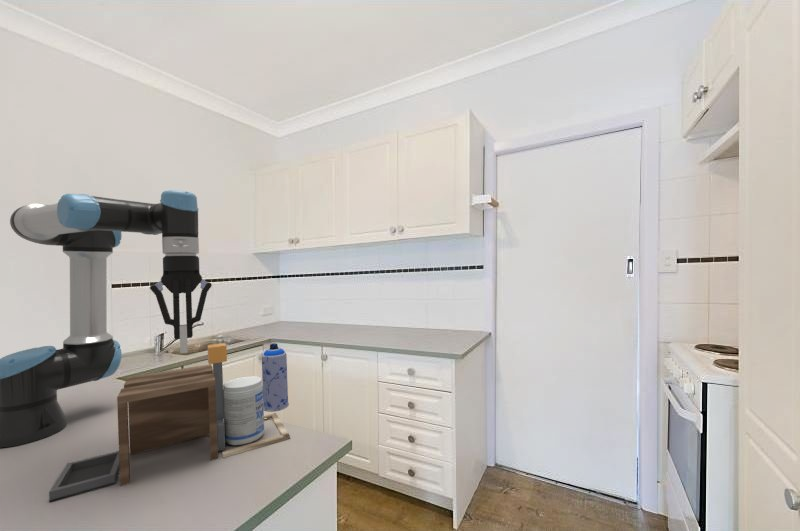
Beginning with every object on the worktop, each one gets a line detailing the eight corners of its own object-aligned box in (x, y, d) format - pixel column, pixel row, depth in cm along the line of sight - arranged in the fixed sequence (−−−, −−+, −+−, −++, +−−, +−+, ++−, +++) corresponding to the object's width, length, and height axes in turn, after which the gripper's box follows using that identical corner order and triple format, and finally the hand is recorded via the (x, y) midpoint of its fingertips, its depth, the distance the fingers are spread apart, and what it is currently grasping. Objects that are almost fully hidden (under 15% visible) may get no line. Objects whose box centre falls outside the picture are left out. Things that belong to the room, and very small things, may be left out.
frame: (217, 429, 96) (217, 426, 96) (275, 415, 104) (275, 412, 104) (222, 457, 81) (222, 454, 81) (290, 438, 89) (289, 435, 89)
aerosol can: (268, 402, 115) (266, 341, 115) (292, 401, 115) (290, 341, 115) (258, 412, 107) (256, 347, 107) (283, 411, 107) (281, 346, 107)
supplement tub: (266, 440, 89) (264, 383, 89) (225, 451, 84) (223, 390, 84) (261, 425, 97) (259, 373, 97) (223, 434, 93) (221, 379, 93)
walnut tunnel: (130, 452, 86) (128, 377, 85) (213, 431, 95) (211, 364, 95) (120, 486, 72) (117, 396, 72) (217, 458, 81) (215, 379, 81)
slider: (209, 433, 93) (206, 342, 93) (226, 429, 95) (223, 340, 95) (212, 452, 83) (208, 350, 83) (231, 447, 85) (227, 347, 85)
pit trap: (67, 472, 78) (67, 463, 78) (124, 457, 83) (123, 449, 83) (49, 502, 67) (49, 492, 67) (115, 484, 73) (115, 474, 73)
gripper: (146, 255, 78) (149, 359, 78) (212, 254, 85) (215, 350, 85) (149, 256, 84) (152, 352, 84) (210, 255, 91) (213, 345, 91)
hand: (184, 351), depth 85 cm, fingers closed
